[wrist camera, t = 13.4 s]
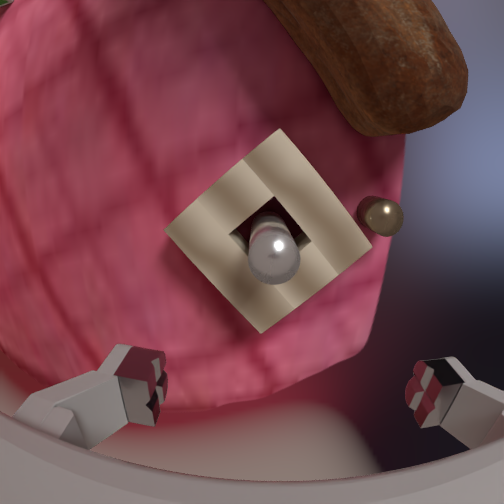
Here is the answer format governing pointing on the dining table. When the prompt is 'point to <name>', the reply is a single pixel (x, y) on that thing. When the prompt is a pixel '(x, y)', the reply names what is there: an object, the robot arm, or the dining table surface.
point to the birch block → (250, 200)
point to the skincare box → (5, 2)
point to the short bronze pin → (380, 215)
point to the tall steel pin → (272, 249)
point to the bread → (380, 60)
